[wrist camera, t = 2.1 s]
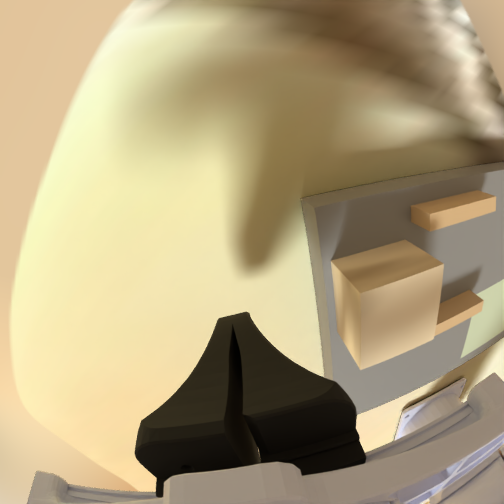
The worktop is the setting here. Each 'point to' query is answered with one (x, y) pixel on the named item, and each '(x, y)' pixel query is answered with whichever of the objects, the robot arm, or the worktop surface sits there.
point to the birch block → (386, 301)
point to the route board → (432, 242)
